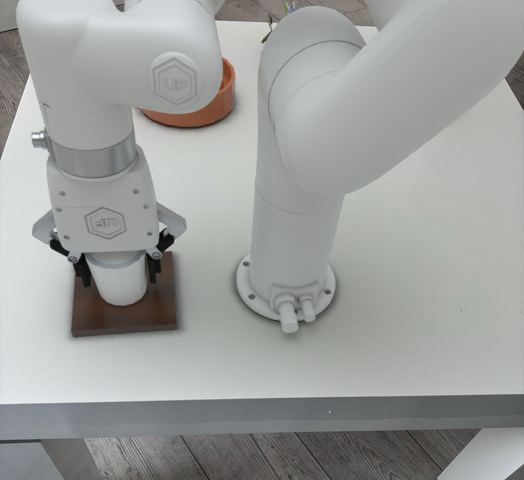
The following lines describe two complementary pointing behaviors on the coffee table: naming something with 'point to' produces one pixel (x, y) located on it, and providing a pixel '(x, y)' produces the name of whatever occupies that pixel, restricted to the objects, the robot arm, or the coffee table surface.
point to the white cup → (119, 275)
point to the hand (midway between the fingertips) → (120, 275)
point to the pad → (127, 307)
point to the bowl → (210, 112)
